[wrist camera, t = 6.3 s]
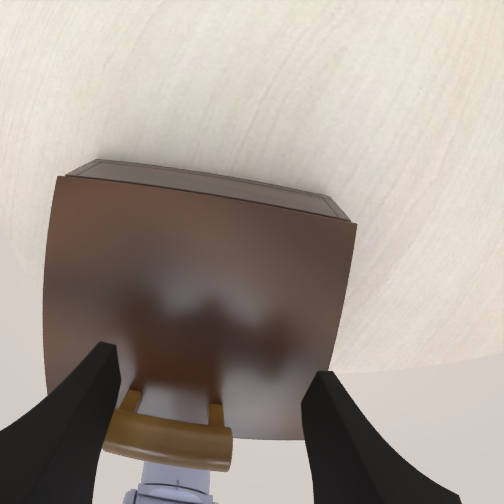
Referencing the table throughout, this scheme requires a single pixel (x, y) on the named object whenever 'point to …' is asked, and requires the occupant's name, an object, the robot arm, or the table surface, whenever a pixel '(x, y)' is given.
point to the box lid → (192, 312)
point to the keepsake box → (210, 186)
